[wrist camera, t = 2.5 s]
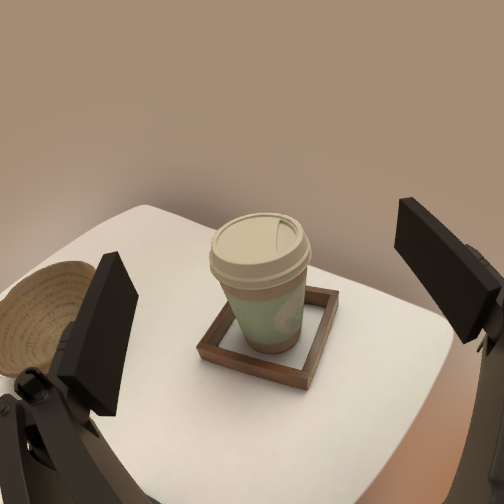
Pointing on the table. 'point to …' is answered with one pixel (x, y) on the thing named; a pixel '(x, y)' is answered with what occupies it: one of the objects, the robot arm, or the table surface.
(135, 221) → the table surface
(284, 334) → the coffee cup
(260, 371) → the wooden square frame
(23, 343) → the bowl
